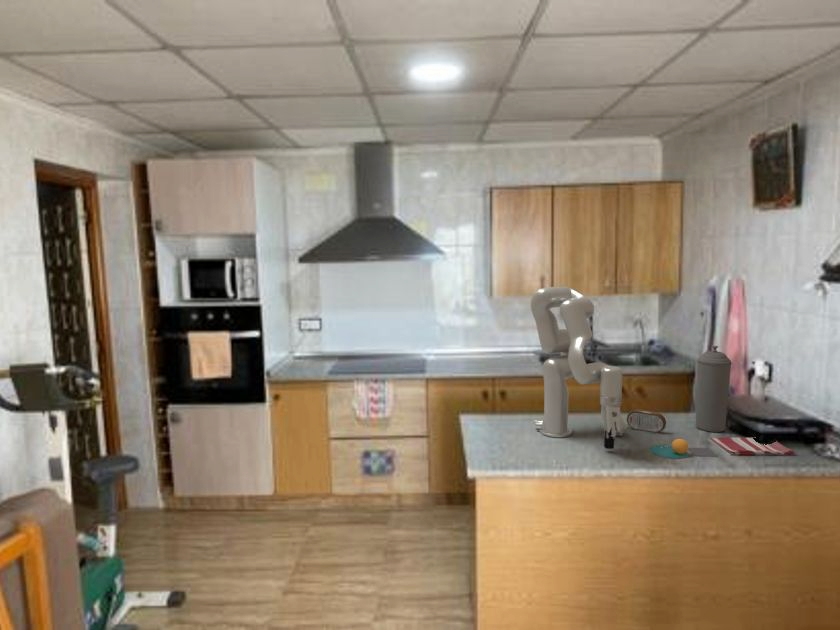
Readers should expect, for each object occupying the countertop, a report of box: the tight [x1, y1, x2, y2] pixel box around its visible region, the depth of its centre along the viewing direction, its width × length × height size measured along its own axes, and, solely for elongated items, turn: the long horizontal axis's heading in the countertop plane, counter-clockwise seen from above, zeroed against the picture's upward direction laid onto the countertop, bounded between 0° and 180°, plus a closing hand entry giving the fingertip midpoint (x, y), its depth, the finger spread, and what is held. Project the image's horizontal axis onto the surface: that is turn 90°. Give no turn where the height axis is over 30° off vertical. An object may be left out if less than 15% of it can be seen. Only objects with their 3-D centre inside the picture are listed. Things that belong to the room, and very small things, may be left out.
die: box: [615, 416, 628, 437], centre depth 225 cm, size 8×9×10 cm
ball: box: [671, 438, 690, 454], centre depth 203 cm, size 6×6×6 cm
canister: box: [695, 345, 733, 433], centre depth 229 cm, size 13×13×35 cm
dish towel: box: [708, 436, 795, 457], centre depth 209 cm, size 17×23×3 cm
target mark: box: [649, 444, 689, 460], centre depth 206 cm, size 13×13×1 cm
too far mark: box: [688, 447, 719, 457], centre depth 205 cm, size 8×8×1 cm
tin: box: [626, 408, 667, 434], centre depth 229 cm, size 15×3×8 cm, turn 58°
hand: (609, 447), depth 207 cm, fingers closed
